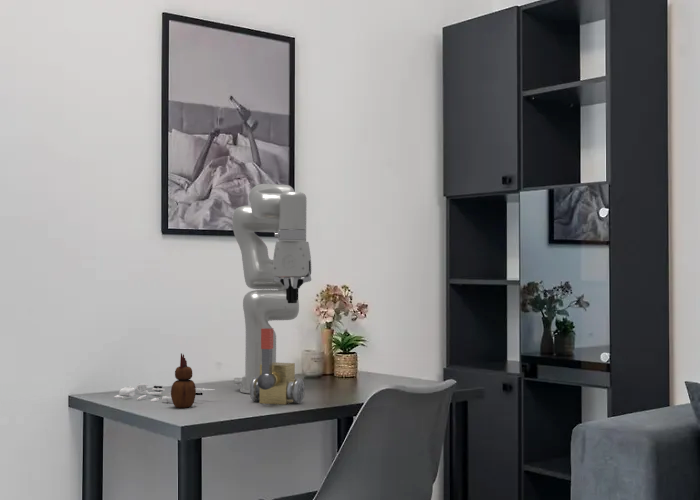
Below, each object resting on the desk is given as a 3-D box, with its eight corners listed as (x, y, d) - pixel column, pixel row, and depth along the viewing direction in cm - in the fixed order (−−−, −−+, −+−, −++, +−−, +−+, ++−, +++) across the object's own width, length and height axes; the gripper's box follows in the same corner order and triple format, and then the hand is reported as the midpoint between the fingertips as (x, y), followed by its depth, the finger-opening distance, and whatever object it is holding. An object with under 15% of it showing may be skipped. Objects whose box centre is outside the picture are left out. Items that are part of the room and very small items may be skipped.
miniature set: (219, 398, 258) (192, 410, 248) (130, 396, 276) (101, 408, 265) (216, 377, 258) (189, 388, 247) (127, 376, 275) (98, 387, 265)
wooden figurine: (182, 409, 242) (183, 354, 242) (166, 407, 245) (167, 353, 245) (199, 406, 248) (200, 352, 248) (183, 404, 251) (184, 351, 251)
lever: (257, 389, 248) (257, 328, 248) (261, 387, 251) (262, 328, 251) (272, 390, 247) (272, 329, 247) (276, 388, 250) (276, 328, 250)
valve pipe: (245, 404, 252) (246, 365, 253) (259, 399, 262) (259, 361, 262) (292, 406, 248) (292, 366, 249) (304, 401, 258) (304, 363, 258)
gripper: (262, 236, 246) (261, 303, 246) (313, 236, 242) (313, 303, 241) (272, 237, 253) (272, 302, 253) (322, 237, 249) (322, 303, 249)
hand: (292, 302), depth 247 cm, fingers closed
